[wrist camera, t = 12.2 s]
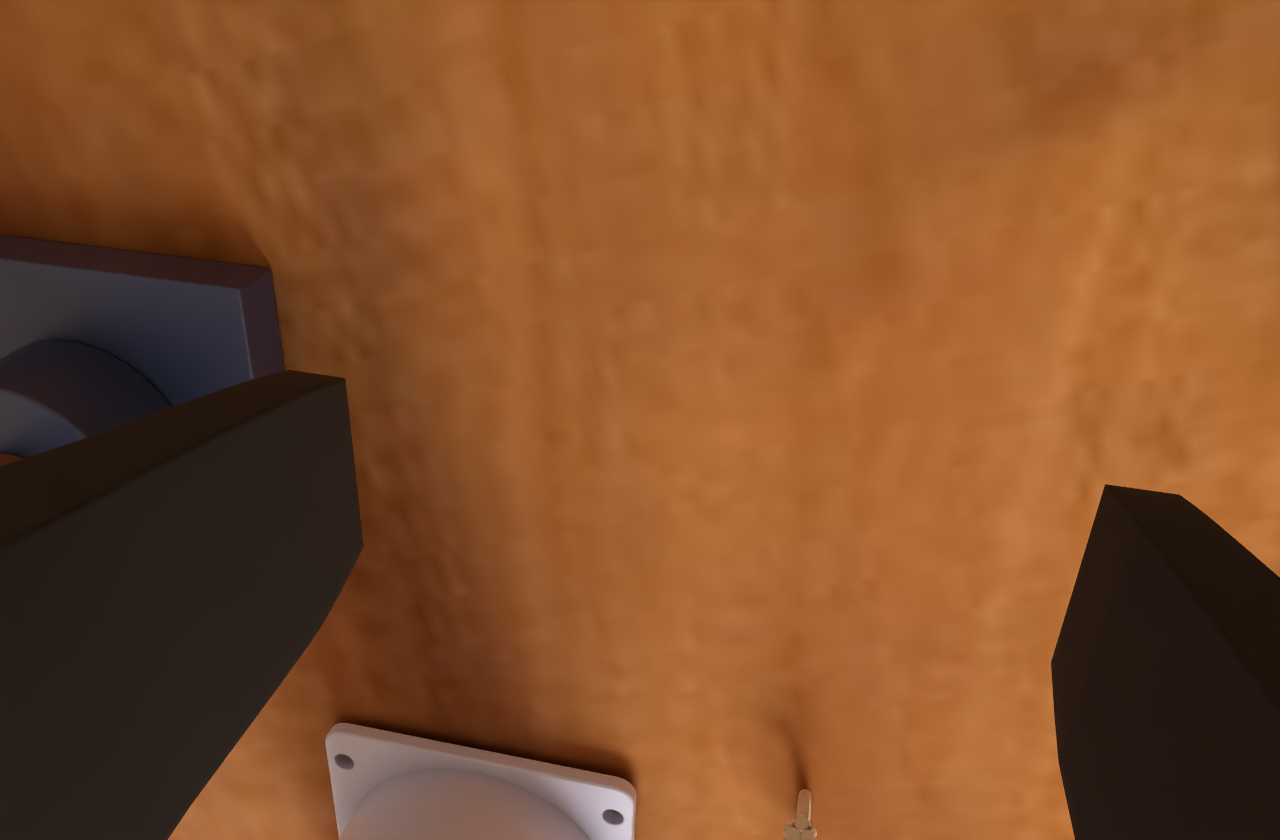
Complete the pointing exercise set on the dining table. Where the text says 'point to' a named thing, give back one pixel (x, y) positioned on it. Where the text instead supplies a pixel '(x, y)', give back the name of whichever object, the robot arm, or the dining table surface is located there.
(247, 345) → the ring post
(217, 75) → the dining table surface
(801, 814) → the ring
